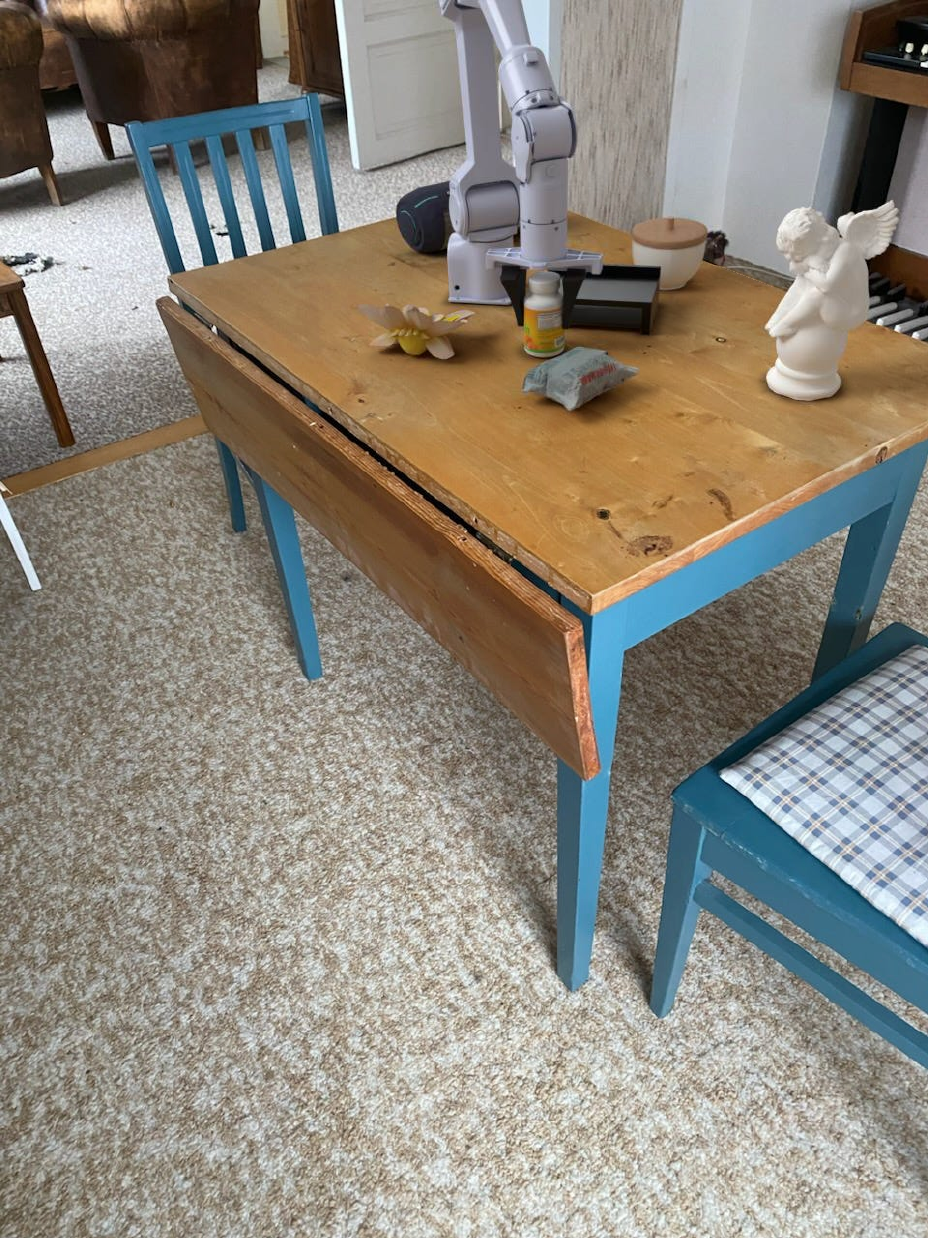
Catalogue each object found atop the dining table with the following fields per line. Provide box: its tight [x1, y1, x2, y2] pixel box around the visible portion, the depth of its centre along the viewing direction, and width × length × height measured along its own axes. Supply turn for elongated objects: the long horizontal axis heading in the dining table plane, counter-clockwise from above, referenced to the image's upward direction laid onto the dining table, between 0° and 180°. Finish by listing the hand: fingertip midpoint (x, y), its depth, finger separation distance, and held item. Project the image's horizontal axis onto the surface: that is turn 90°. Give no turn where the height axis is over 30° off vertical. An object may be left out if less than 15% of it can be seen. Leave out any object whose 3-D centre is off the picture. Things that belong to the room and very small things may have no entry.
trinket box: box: [631, 216, 709, 291], centre depth 139 cm, size 11×11×9 cm
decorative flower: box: [355, 303, 475, 360], centre depth 126 cm, size 15×11×10 cm
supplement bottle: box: [523, 270, 566, 358], centre depth 123 cm, size 5×5×10 cm
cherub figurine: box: [764, 199, 900, 402], centre depth 109 cm, size 12×12×22 cm
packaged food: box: [521, 346, 639, 412], centre depth 115 cm, size 9×12×5 cm
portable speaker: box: [395, 180, 521, 253], centre depth 158 cm, size 25×10×10 cm, turn 119°
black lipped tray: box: [546, 263, 661, 336], centre depth 132 cm, size 16×10×6 cm, turn 74°
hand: (543, 324), depth 124 cm, fingers closed on supplement bottle, 5 cm apart
